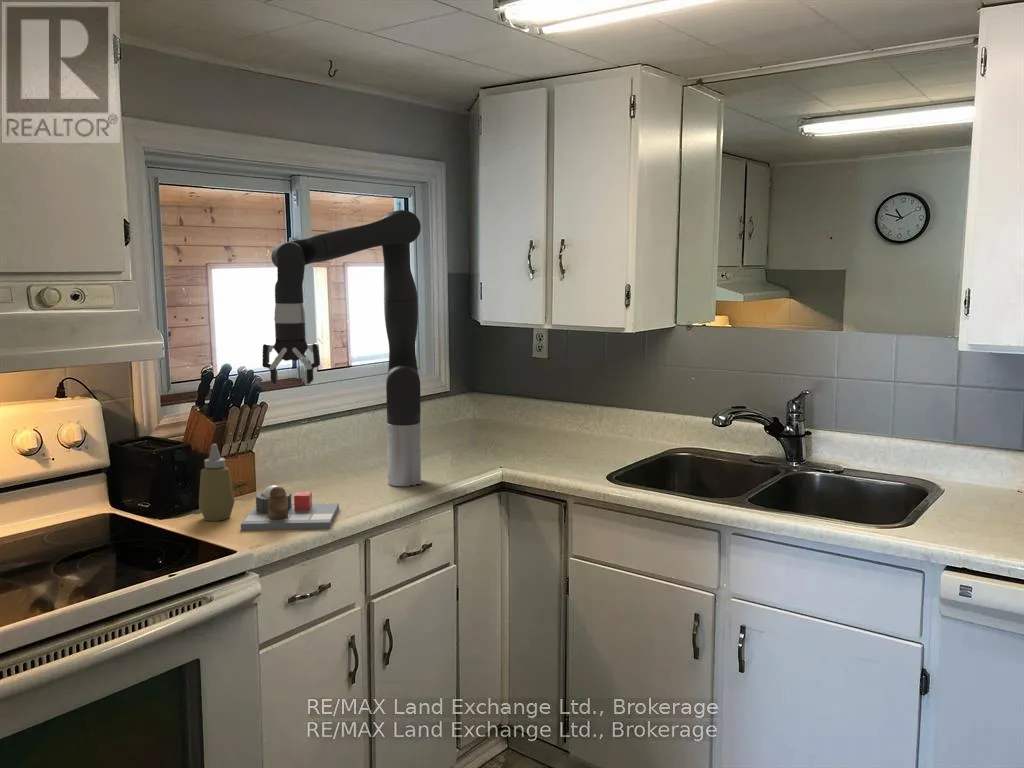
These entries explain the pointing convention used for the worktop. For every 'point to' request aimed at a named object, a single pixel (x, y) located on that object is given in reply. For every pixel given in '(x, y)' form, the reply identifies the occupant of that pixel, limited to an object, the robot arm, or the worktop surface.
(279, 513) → the cylinder
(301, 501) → the red die
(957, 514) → the worktop surface
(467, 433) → the worktop surface
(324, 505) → the board
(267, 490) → the dome
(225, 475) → the squeeze bottle
